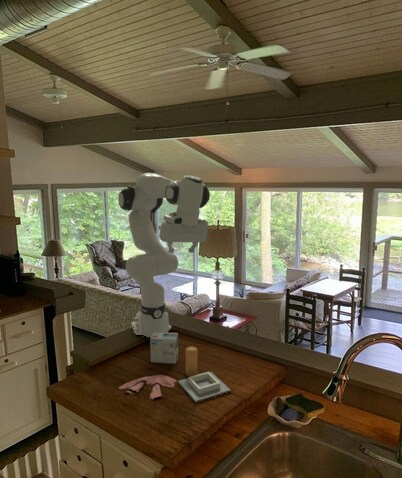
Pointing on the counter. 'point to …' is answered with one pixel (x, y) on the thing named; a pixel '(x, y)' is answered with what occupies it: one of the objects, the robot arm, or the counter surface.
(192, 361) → the tapered orange cylinder
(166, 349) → the light bulb box
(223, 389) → the cylinder holder
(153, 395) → the cloth
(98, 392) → the counter surface
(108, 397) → the counter surface
